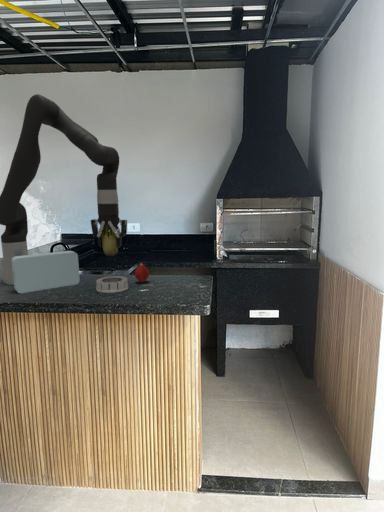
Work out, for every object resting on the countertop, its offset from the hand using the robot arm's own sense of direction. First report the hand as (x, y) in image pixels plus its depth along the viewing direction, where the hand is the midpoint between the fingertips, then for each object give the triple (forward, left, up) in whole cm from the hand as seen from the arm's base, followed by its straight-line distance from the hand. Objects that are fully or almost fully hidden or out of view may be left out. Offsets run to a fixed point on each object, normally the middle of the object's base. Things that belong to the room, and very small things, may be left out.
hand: (110, 246), depth 128 cm
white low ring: (0, 0, -16) cm, 16 cm away
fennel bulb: (0, 0, -3) cm, 3 cm away
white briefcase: (-26, -3, -17) cm, 31 cm away
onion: (+8, +11, -17) cm, 21 cm away
